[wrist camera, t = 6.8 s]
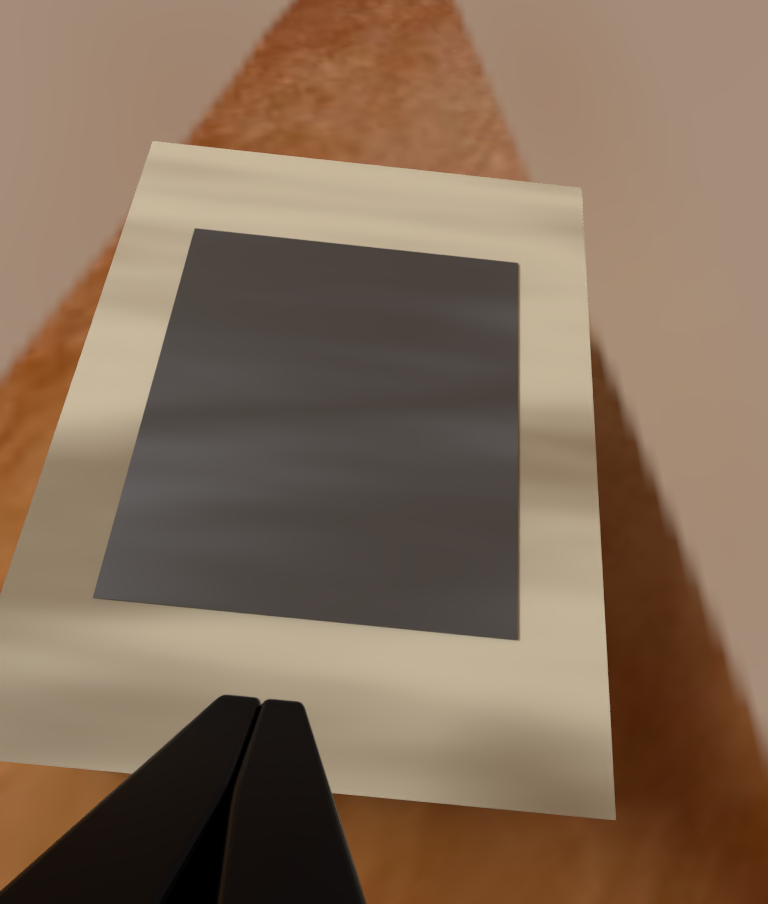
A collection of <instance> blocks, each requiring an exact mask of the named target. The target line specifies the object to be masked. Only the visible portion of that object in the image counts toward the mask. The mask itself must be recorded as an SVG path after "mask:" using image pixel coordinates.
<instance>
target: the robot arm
mask: <svg viewBox="0 0 768 904" xmlns="http://www.w3.org/2000/svg"><path fill="white" fill-rule="evenodd" d="M0 904H367V903H366V900H365V897H364V894H363V891H362V887H361V884H360V881H359V878H358V875H357V871H356V868H355V865H354V862H353V859H352V855H351V852H350V849H349V846H348V843H347V840H346V836H345V833H344V830H343V827H342V824H341V820H340V817H339V814H338V811H337V808H336V804H335V801H334V798H333V795H332V792H331V789H330V785H329V782H328V779H327V776H326V773H325V769H324V766H323V763H322V760H321V757H320V753H319V750H318V747H317V744H316V741H315V738H314V734H313V731H312V728H311V725H310V722H309V718H308V715H307V712H306V709H305V707H304V705H303V704H302V703H301V702H298V701H289V700H279V699H267V700H265V701H264V702H263V703H262V704H261V701H260V700H259V699H258V698H256V697H248V696H238V695H228V694H227V695H222V696H220V697H218V698H217V699H216V700H214V701H213V702H212V703H211V704H210V705H209V706H208V707H207V708H205V709H204V710H203V711H202V712H201V713H200V714H199V715H198V716H196V717H195V718H194V719H193V720H192V721H191V722H190V723H189V724H187V725H186V726H185V727H184V728H183V729H182V730H181V731H180V732H178V733H177V734H176V735H175V736H174V737H173V738H172V739H171V740H170V741H168V742H167V743H166V744H165V745H164V746H163V747H162V748H161V749H159V750H158V751H157V752H156V753H155V754H154V755H153V756H152V757H150V758H149V759H148V760H147V761H146V762H145V763H144V764H143V765H141V766H140V767H139V768H138V769H137V770H136V771H135V772H134V773H132V774H131V775H130V776H129V777H128V778H127V779H126V780H125V781H123V782H122V783H121V784H120V785H119V786H118V787H117V788H116V789H115V790H113V791H112V792H111V793H110V794H109V795H108V796H107V797H106V798H104V799H103V800H102V801H101V802H100V803H99V804H98V805H97V806H95V807H94V808H93V809H92V810H91V811H90V812H89V813H88V814H86V815H85V816H84V817H83V818H82V819H81V820H80V821H79V822H77V823H76V824H75V825H74V826H73V827H72V828H71V829H70V830H68V831H67V832H66V833H65V834H64V835H63V836H62V837H61V838H60V839H58V840H57V841H56V842H55V843H54V844H53V845H52V846H51V847H49V848H48V849H47V850H46V851H45V852H44V853H43V854H42V855H40V856H39V857H38V858H37V859H36V860H35V861H34V862H33V863H31V864H30V865H29V866H28V867H27V868H26V869H25V870H24V871H22V872H21V873H20V874H19V875H18V876H17V877H16V878H15V879H13V880H12V881H11V882H10V883H9V884H8V885H7V886H6V887H5V888H3V889H2V890H1V891H0Z"/></svg>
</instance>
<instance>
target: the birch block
mask: <svg viewBox="0 0 768 904" xmlns="http://www.w3.org/2000/svg"><path fill="white" fill-rule="evenodd" d="M584 241H585V240H584V223H583V204H582V189H581V188H578V187H568V186H560V185H551V184H542V183H532V182H523V181H514V180H505V179H496V178H486V177H477V176H468V175H459V174H450V173H441V172H431V171H422V170H413V169H404V168H395V167H385V166H376V165H367V164H358V163H349V162H339V161H330V160H321V159H312V158H303V157H294V156H284V155H275V154H266V153H257V152H248V151H238V150H229V149H220V148H211V147H202V146H193V145H183V144H174V143H165V142H156V141H153V142H152V145H151V148H150V151H149V154H148V157H147V160H146V163H145V166H144V169H143V172H142V175H141V178H140V181H139V184H138V187H137V190H136V193H135V196H134V199H133V202H132V205H131V208H130V211H129V214H128V217H127V220H126V223H125V225H124V228H123V231H122V234H121V237H120V240H119V243H118V246H117V249H116V252H115V255H114V258H113V261H112V264H111V267H110V270H109V273H108V276H107V279H106V282H105V285H104V288H103V291H102V294H101V297H100V300H99V303H98V306H97V309H96V312H95V315H94V318H93V321H92V324H91V327H90V330H89V332H88V335H87V338H86V341H85V344H84V347H83V350H82V353H81V356H80V359H79V362H78V365H77V368H76V371H75V374H74V377H73V380H72V383H71V386H70V389H69V392H68V395H67V398H66V401H65V404H64V407H63V410H62V413H61V416H60V419H59V422H58V425H57V428H56V431H55V434H54V436H53V439H52V442H51V445H50V448H49V451H48V454H47V457H46V460H45V463H44V466H43V469H42V472H41V475H40V478H39V481H38V484H37V487H36V490H35V493H34V496H33V499H32V502H31V505H30V508H29V511H28V514H27V517H26V520H25V523H24V526H23V529H22V532H21V535H20V538H19V541H18V543H17V546H16V549H15V552H14V555H13V558H12V561H11V564H10V567H9V570H8V573H7V576H6V579H5V582H4V585H3V588H2V591H1V594H0V761H6V762H16V763H27V764H37V765H47V766H58V767H68V768H79V769H89V770H99V771H110V772H120V773H130V774H132V773H134V772H135V771H136V770H137V769H138V768H139V767H140V766H141V765H143V764H144V763H145V762H146V761H147V760H148V759H149V758H150V757H152V756H153V755H154V754H155V753H156V752H157V751H158V750H159V749H161V748H162V747H163V746H164V745H165V744H166V743H167V742H168V741H170V740H171V739H172V738H173V737H174V736H175V735H176V734H177V733H178V732H180V731H181V730H182V729H183V728H184V727H185V726H186V725H187V724H189V723H190V722H191V721H192V720H193V719H194V718H195V717H196V716H198V715H199V714H200V713H201V712H202V711H203V710H204V709H205V708H207V707H208V706H209V705H210V704H211V703H212V702H213V701H214V700H216V699H217V698H218V697H220V696H222V695H227V694H228V695H238V696H248V697H256V698H258V699H259V700H260V701H261V704H262V703H263V702H264V701H265V700H267V699H279V700H289V701H298V702H301V703H302V704H303V705H304V707H305V709H306V712H307V715H308V718H309V722H310V725H311V728H312V731H313V734H314V738H315V741H316V744H317V747H318V750H319V753H320V757H321V760H322V763H323V766H324V769H325V773H326V776H327V779H328V782H329V785H330V789H331V792H332V793H338V794H348V795H358V796H369V797H379V798H389V799H400V800H410V801H420V802H431V803H441V804H452V805H462V806H472V807H483V808H493V809H503V810H514V811H524V812H534V813H545V814H555V815H565V816H576V817H586V818H597V819H607V820H616V811H615V792H614V774H613V756H612V737H611V719H610V700H609V682H608V664H607V645H606V627H605V608H604V590H603V572H602V553H601V535H600V516H599V498H598V480H597V461H596V443H595V424H594V406H593V387H592V369H591V351H590V332H589V314H588V295H587V277H586V259H585V242H584Z"/></svg>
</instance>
